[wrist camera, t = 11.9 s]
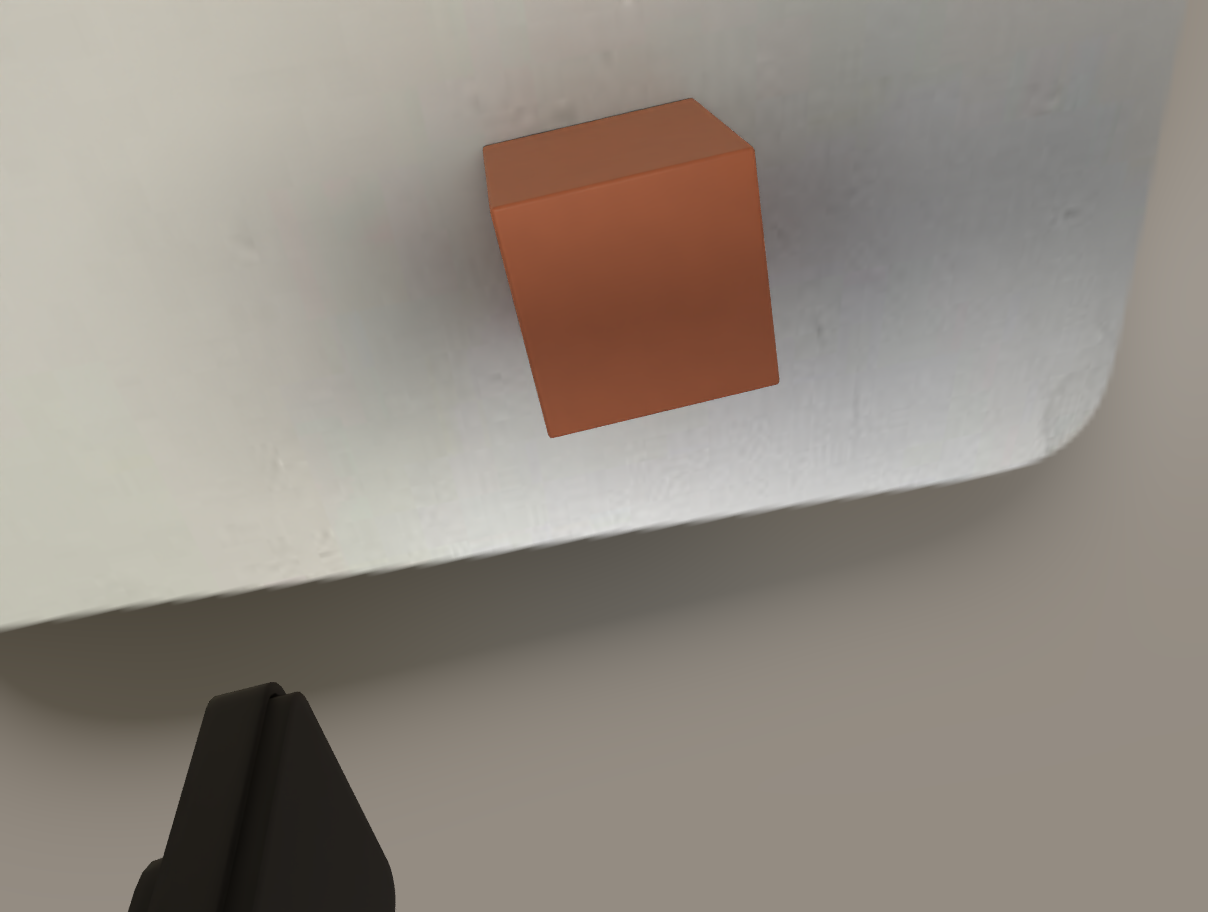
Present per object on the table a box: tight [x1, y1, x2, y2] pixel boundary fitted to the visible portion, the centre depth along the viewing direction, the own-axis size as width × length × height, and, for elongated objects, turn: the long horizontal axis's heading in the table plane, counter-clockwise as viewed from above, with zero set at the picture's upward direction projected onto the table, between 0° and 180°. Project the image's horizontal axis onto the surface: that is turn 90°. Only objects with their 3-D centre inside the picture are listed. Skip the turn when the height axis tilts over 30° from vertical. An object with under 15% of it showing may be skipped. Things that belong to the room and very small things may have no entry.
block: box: [483, 98, 779, 438], centre depth 20 cm, size 5×5×5 cm
